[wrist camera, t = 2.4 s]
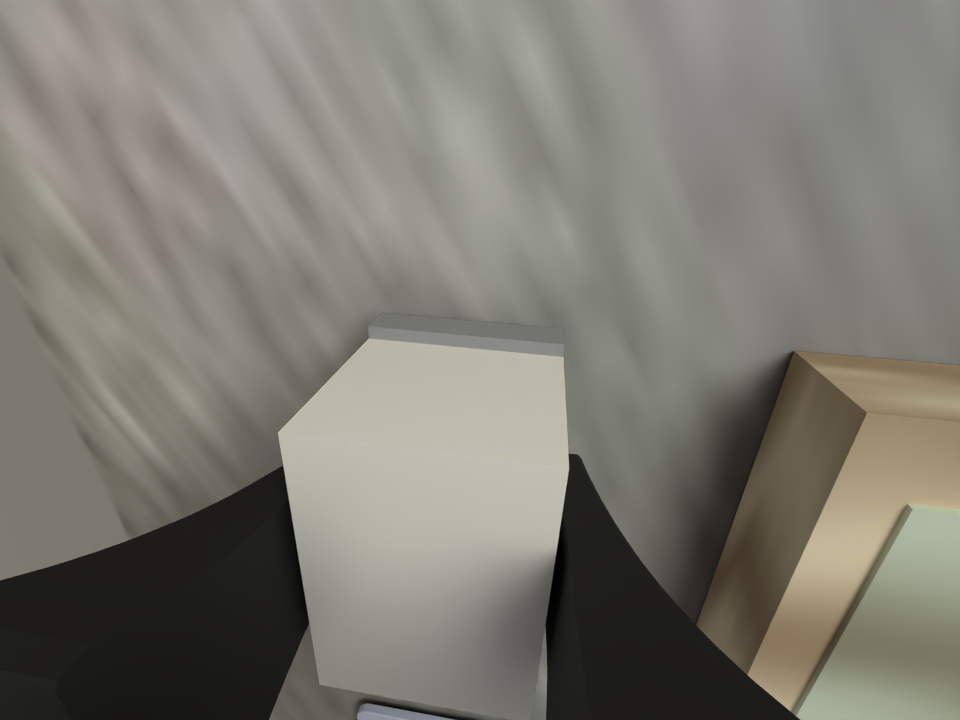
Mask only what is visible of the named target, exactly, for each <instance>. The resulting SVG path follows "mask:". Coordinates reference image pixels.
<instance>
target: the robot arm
mask: <svg viewBox="0 0 960 720" xmlns="http://www.w3.org/2000/svg"><path fill="white" fill-rule="evenodd" d="M568 456H569V472H568V479H567V486H566V492H565V499H564V505H563V512H562V519H561V525H560V532H559V538H558V545H557V552H556V558H555V565H554V571H553V578H552V585H551V591H550V598H549V604H548V611H547V618H546V624H545V625H546V642H547V709H546V720H800V719H799V718H798V717H797V716H795V715H794V714H793V713H792V712H791V711H789V710H788V709H787V708H786V707H785V706H783V705H782V704H781V703H780V702H779V701H777V700H776V699H775V698H774V697H773V696H771V695H770V694H769V693H768V692H767V691H765V690H764V689H763V688H762V687H761V686H759V685H758V684H757V683H756V682H755V681H754V680H753V679H751V678H750V677H749V676H748V675H747V674H746V673H745V672H744V671H743V670H742V669H741V668H739V667H738V666H737V665H736V664H735V663H734V662H733V661H732V660H731V659H730V658H729V657H728V656H727V655H725V654H724V653H723V652H722V651H721V650H720V649H719V648H718V647H717V646H716V645H715V644H714V643H713V642H712V641H711V640H710V639H709V638H708V637H707V636H706V635H705V634H704V633H703V632H702V631H701V630H700V629H699V628H698V626H697V625H696V624H695V623H694V622H693V621H692V620H691V619H690V618H689V617H688V616H687V615H686V614H685V613H684V612H683V611H682V610H681V609H680V608H679V607H678V605H677V604H676V603H675V602H674V601H673V600H672V599H671V597H670V596H669V595H668V594H667V593H666V592H665V590H664V589H663V588H662V587H661V586H660V584H659V583H658V582H657V581H656V579H655V578H654V577H653V576H652V574H651V573H650V572H649V571H648V569H647V568H646V567H645V565H644V564H643V563H642V561H641V560H640V559H639V557H638V556H637V555H636V553H635V552H634V550H633V549H632V548H631V546H630V545H629V543H628V542H627V540H626V539H625V537H624V536H623V534H622V533H621V531H620V530H619V528H618V527H617V525H616V523H615V522H614V520H613V519H612V517H611V515H610V514H609V512H608V510H607V508H606V507H605V505H604V503H603V502H602V500H601V498H600V496H599V495H598V493H597V491H596V489H595V487H594V485H593V483H592V481H591V479H590V477H589V475H588V473H587V471H586V468H585V466H584V464H583V461H582V459H581V458H580V457H579V456H578V455H576V454H568ZM308 625H309V618H308V612H307V606H306V600H305V594H304V588H303V581H302V575H301V569H300V563H299V557H298V551H297V545H296V539H295V533H294V527H293V521H292V515H291V509H290V503H289V497H288V491H287V485H286V479H285V473H284V467H283V466H281V467H280V468H278V469H277V470H275V471H273V472H271V473H270V474H268V475H266V476H264V477H263V478H261V479H259V480H257V481H256V482H254V483H252V484H250V485H249V486H247V487H245V488H243V489H242V490H240V491H238V492H236V493H234V494H232V495H231V496H229V497H227V498H225V499H223V500H221V501H219V502H217V503H215V504H213V505H211V506H209V507H206V508H204V509H202V510H200V511H198V512H196V513H194V514H192V515H189V516H187V517H185V518H183V519H180V520H178V521H176V522H173V523H171V524H168V525H166V526H163V527H161V528H158V529H156V530H153V531H151V532H149V533H146V534H144V535H141V536H139V537H136V538H134V539H131V540H128V541H126V542H123V543H120V544H118V545H115V546H112V547H109V548H106V549H103V550H100V551H98V552H95V553H92V554H88V555H86V556H82V557H79V558H76V559H74V560H70V561H67V562H64V563H61V564H57V565H54V566H51V567H48V568H44V569H41V570H37V571H33V572H30V573H26V574H23V575H19V576H15V577H12V578H8V579H4V580H1V581H0V720H269V718H270V715H271V713H272V710H273V708H274V705H275V703H276V700H277V698H278V695H279V693H280V690H281V688H282V685H283V683H284V680H285V678H286V675H287V673H288V671H289V668H290V666H291V664H292V661H293V659H294V656H295V654H296V652H297V649H298V647H299V645H300V642H301V640H302V638H303V635H304V633H305V631H306V629H307V627H308ZM357 720H456V719H451V718H445V717H440V716H435V715H429V714H424V713H418V712H413V711H408V710H402V709H397V708H391V707H386V706H381V705H375V704H369V703H366V704H362V705H361V706H360V708H359V711H358V714H357Z"/></svg>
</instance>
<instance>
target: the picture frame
mask: <svg viewBox="0 0 960 720" xmlns="http://www.w3.org/2000/svg"><path fill="white" fill-rule="evenodd" d="M696 625H697V626H698V628H699V629H700V630H701V631H702V632H703V633H704V634H705V635H706V636H707V637H708V638H709V639H710V640H711V641H712V642H713V643H714V644H715V645H716V646H717V647H718V648H719V649H720V650H721V651H722V652H723V653H724V654H725V655H727V656H728V657H729V658H730V659H731V660H732V661H733V662H734V663H735V664H736V665H737V666H738V667H739V668H741V669H742V670H743V671H744V672H745V673H746V674H747V675H748V676H749V677H750V678H751V679H753V680H754V681H755V682H756V683H757V684H758V685H759V686H761V687H762V688H763V689H764V690H765V691H767V692H768V693H769V694H770V695H771V696H773V697H774V698H775V699H776V700H777V701H779V702H780V703H781V704H782V705H783V706H785V707H786V708H787V709H788V710H789V711H791V712H792V713H793V714H794V715H795V716H797V717H798V718H799V719H800V720H960V366H959V365H948V364H936V363H925V362H914V361H903V360H891V359H880V358H869V357H858V356H846V355H835V354H824V353H813V352H801V351H794V353H793V355H792V358H791V361H790V364H789V367H788V370H787V372H786V375H785V378H784V381H783V384H782V386H781V389H780V392H779V395H778V398H777V400H776V403H775V406H774V409H773V412H772V414H771V417H770V420H769V423H768V426H767V428H766V431H765V434H764V437H763V440H762V442H761V445H760V448H759V451H758V454H757V456H756V459H755V462H754V465H753V468H752V470H751V473H750V476H749V479H748V482H747V484H746V487H745V490H744V493H743V496H742V498H741V501H740V504H739V507H738V510H737V512H736V515H735V518H734V521H733V524H732V526H731V529H730V532H729V535H728V538H727V540H726V543H725V546H724V549H723V552H722V554H721V557H720V560H719V563H718V566H717V568H716V571H715V574H714V577H713V580H712V582H711V585H710V588H709V591H708V594H707V596H706V599H705V602H704V605H703V608H702V610H701V613H700V616H699V619H698V622H697V624H696Z"/></svg>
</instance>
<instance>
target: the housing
mask: <svg viewBox="0 0 960 720" xmlns="http://www.w3.org/2000/svg"><path fill="white" fill-rule="evenodd" d="M368 332H369V339H368V340H367V341H366V342H365V343H364V344H363V345H362V346H361V347H360V348H359V349H358V350H357V351H356V352H355V353H354V354H353V355H352V356H351V358H350V359H349V360H348V361H347V362H346V363H345V364H344V365H343V366H342V367H341V368H340V369H339V370H338V371H337V372H336V373H335V374H334V375H333V376H332V377H331V378H330V379H329V380H328V381H327V382H326V383H325V384H324V385H323V387H322V388H321V389H320V390H319V391H318V392H317V393H316V394H315V395H314V396H313V397H312V398H311V399H310V400H309V401H308V402H307V403H306V404H305V405H304V406H303V407H302V408H301V409H300V410H299V411H298V412H297V413H296V414H295V416H294V417H293V418H292V419H291V420H290V421H289V422H288V423H287V424H286V425H285V426H284V427H283V428H282V429H281V430H280V431H279V432H278V436H279V442H280V448H281V455H282V461H283V467H284V473H285V479H286V485H287V491H288V497H289V503H290V509H291V515H292V521H293V527H294V533H295V539H296V545H297V551H298V557H299V563H300V569H301V575H302V581H303V588H304V594H305V600H306V606H307V612H308V618H309V624H310V630H311V636H312V642H313V648H314V654H315V660H316V666H317V672H318V678H319V684H320V685H323V686H328V687H334V688H339V689H345V690H350V691H356V692H361V693H367V694H372V695H378V696H383V697H389V698H394V699H400V700H405V701H411V702H416V703H422V704H427V705H433V706H438V707H444V708H449V709H455V710H460V711H466V712H471V713H477V714H482V715H487V716H493V717H498V718H504V719H509V720H531V717H532V710H533V703H534V697H535V690H536V684H537V677H538V670H539V664H540V657H541V651H542V644H543V637H544V631H545V624H546V618H547V611H548V604H549V598H550V591H551V585H552V578H553V571H554V565H555V558H556V552H557V545H558V538H559V532H560V525H561V519H562V512H563V505H564V499H565V492H566V486H567V479H568V472H569V456H568V437H567V418H566V398H565V379H564V360H563V356H564V348H565V338H564V329H561V328H550V327H538V326H527V325H516V324H505V323H493V322H482V321H471V320H460V319H448V318H437V317H426V316H415V315H403V314H392V313H382V314H381V315H379V316H378V317H377V318H376V319H375V320H374V321H373V322H372V323H371V324H370V325H369V326H368Z"/></svg>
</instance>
